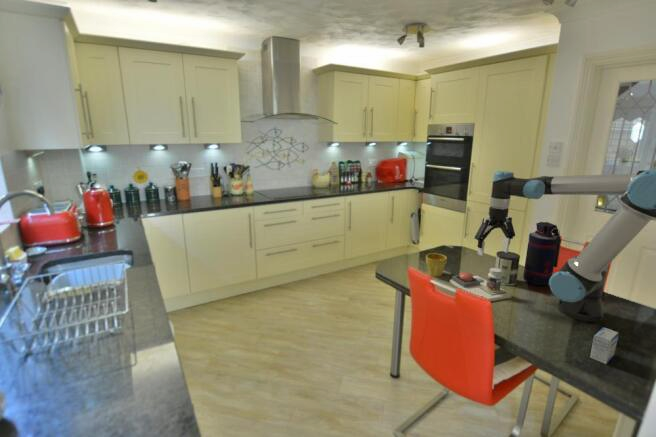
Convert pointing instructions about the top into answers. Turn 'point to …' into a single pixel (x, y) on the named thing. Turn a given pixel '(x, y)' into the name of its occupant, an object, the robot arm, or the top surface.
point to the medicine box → (604, 345)
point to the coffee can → (507, 266)
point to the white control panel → (479, 288)
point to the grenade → (542, 254)
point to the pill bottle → (494, 280)
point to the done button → (466, 277)
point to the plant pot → (435, 264)
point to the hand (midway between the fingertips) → (492, 253)
